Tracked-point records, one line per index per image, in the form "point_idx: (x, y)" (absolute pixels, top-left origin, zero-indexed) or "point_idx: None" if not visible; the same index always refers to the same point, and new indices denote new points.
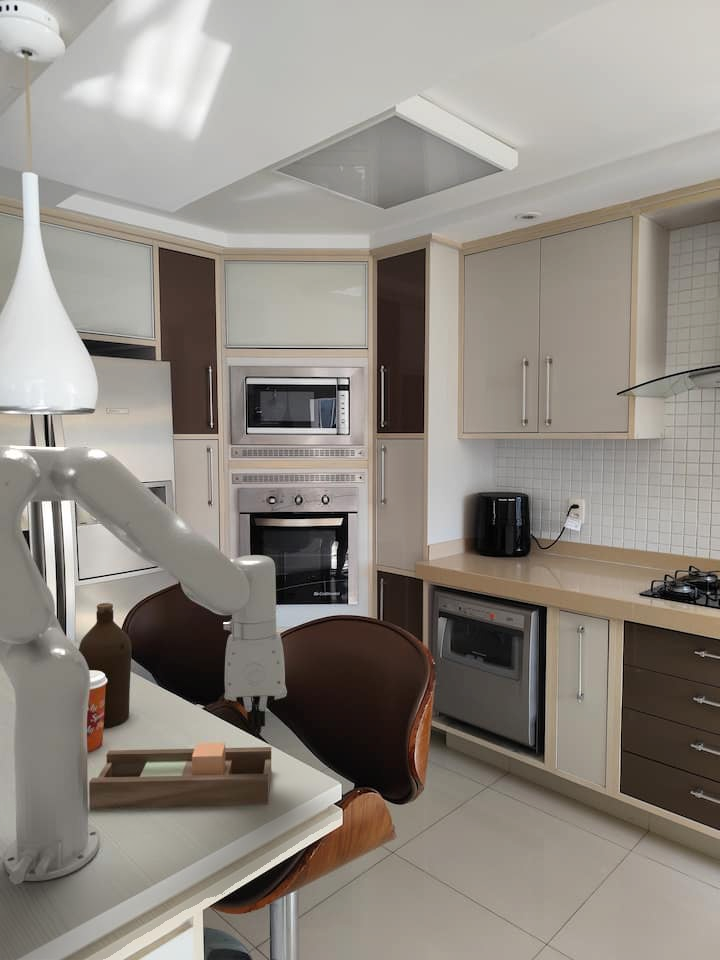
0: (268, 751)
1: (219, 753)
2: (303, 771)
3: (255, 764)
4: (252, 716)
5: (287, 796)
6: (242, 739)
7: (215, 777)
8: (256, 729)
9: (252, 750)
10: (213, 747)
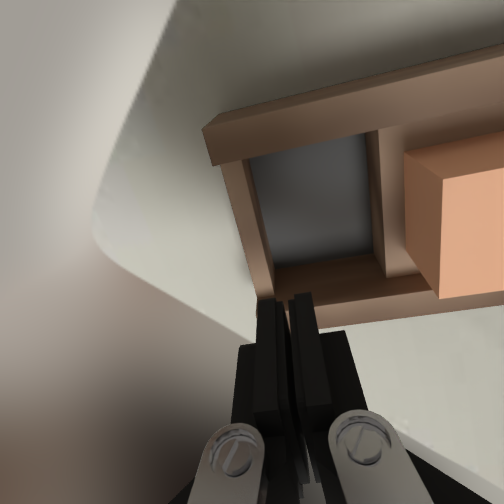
0: None
1: (457, 201)
2: (178, 295)
3: (305, 280)
4: (313, 375)
5: (175, 170)
6: (376, 404)
7: (437, 90)
8: (281, 312)
9: (320, 310)
10: (493, 252)
